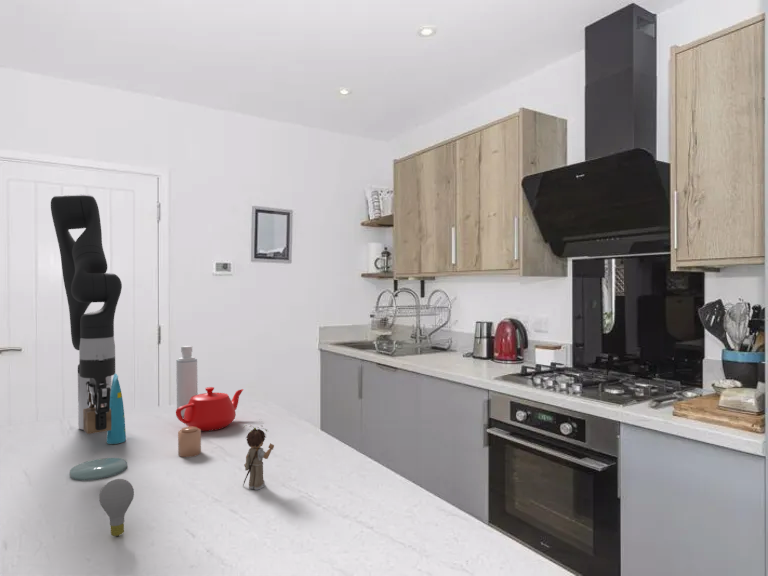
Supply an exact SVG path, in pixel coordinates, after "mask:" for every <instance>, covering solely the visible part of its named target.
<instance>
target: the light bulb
mask: <svg viewBox="0 0 768 576" xmlns="http://www.w3.org/2000/svg"><path fill="white" fill-rule="evenodd" d="M134 490H135V489H134V487H133V485H132V483H131V482H130V481H128V480H127V479H124V478H116V479H112V480H109V482H107V483H105V485H104V486H103V487H102V489H101V490H100V492H99V495H98V496H99V497H98V499H99V505H100V507H101V508H102V509H103V511H104V512H105V513H106V514H107V516H108V519H109V526H110V535H111V536H113V537H116V538H117V537H120V536H121V535H123V534H124V533H125V515H126V513H127V511H128V509H129V508H130V506H131V504H132V502H133V499H134V496H135V491H134Z"/></svg>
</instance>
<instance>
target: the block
mask: <svg viewBox="0 0 768 576" xmlns="http://www.w3.org/2000/svg"><path fill="white" fill-rule="evenodd" d="M101 407H104V406H100V408H101ZM106 423H107V427H106V429H103V430H96V428H95V407H93V408H85V409H83V428H84V430H83V431H84V432H85V433H86V434H87V435H90V434H97V433H102V432H107V431H109V430H111V409H110V410H109V412H107V413H106Z"/></svg>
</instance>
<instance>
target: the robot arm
mask: <svg viewBox="0 0 768 576" xmlns="http://www.w3.org/2000/svg"><path fill="white" fill-rule="evenodd" d="M99 209H100V208H99V206H98V202H97V200H96V198H95V197H94V196H93V195H90V194H84V193H83V194H61V195H54V196H53V197H52V198H51V200H50V212H51V217H52V222H53V226H54V230H55V231H54V232H55V235H56V240H57V244H58V247H59V249H58V250H59V254H60V262H61V263H60V264H61V271H62V279H63V285H64V291H65V293H66V294H65V295H66V300H67V304H68V311H69V312H68V313H69V321H70V322H69V323H70V324H69V325H70V335H71V337H70V338H71V343H72V346H73V348H74V349H75V350H76V351H79V352H78V353H79V355H78V356H79V359H78V361H79V364H78V365H77V404H78V405H77V410H78V411H77V414H78V415H77V417H78V419H77V421H78V422H77V425H78V426H77V427H78V430H83V431H84V428H83V409H85V408H93V407H95V428H96V430H103V429H106V427H107V423H106V413H107V412H109V410H110V393H111V386H112V376H114V374H115V373H116V344H115V343H116V342H115V337H114V336H115V328H114V327H115V324H114V323H115V314H116V309H117V306H118V302H119V299H120V296H121V294H122V293H121V292H122V287H123V285H122V281H121V278H120V277H119V276H118V275H117V274H115V273H112V272H108V262H107V258H106V255H105V251H104V246H103V240H102V239H103V237H102V234H103V233H102V225H101V216H100V210H99ZM79 229H84V231H83V232H82V233H81V234H80V235H79V237H78V238H76V240H75V239H74V238H73V237H72V235H71V232H70V231H69V230H79ZM92 303H103V305H102V307H101V308H100V309H98V310H96V311H91V312H90V311H89V312H87V309H88V308H89V307H90V305H91V304H92ZM100 406H104V407H101V408H100Z"/></svg>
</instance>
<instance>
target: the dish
mask: <svg viewBox="0 0 768 576" xmlns="http://www.w3.org/2000/svg"><path fill="white" fill-rule="evenodd" d="M126 469H128V461H127V460H126V459H125V458H119V457H107V458H106V457H105V458H97V459H92V460H89V461H84V462H81V463H78V464H76V465H75V466H72V467H71V469H70V470H69V477H70V478H71V479H73V480H76V481H93V480H95V481H96V480H100V479H106V478H109V477H112V476H116V475H118V474H120V473H122V472H124V471H126Z"/></svg>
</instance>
